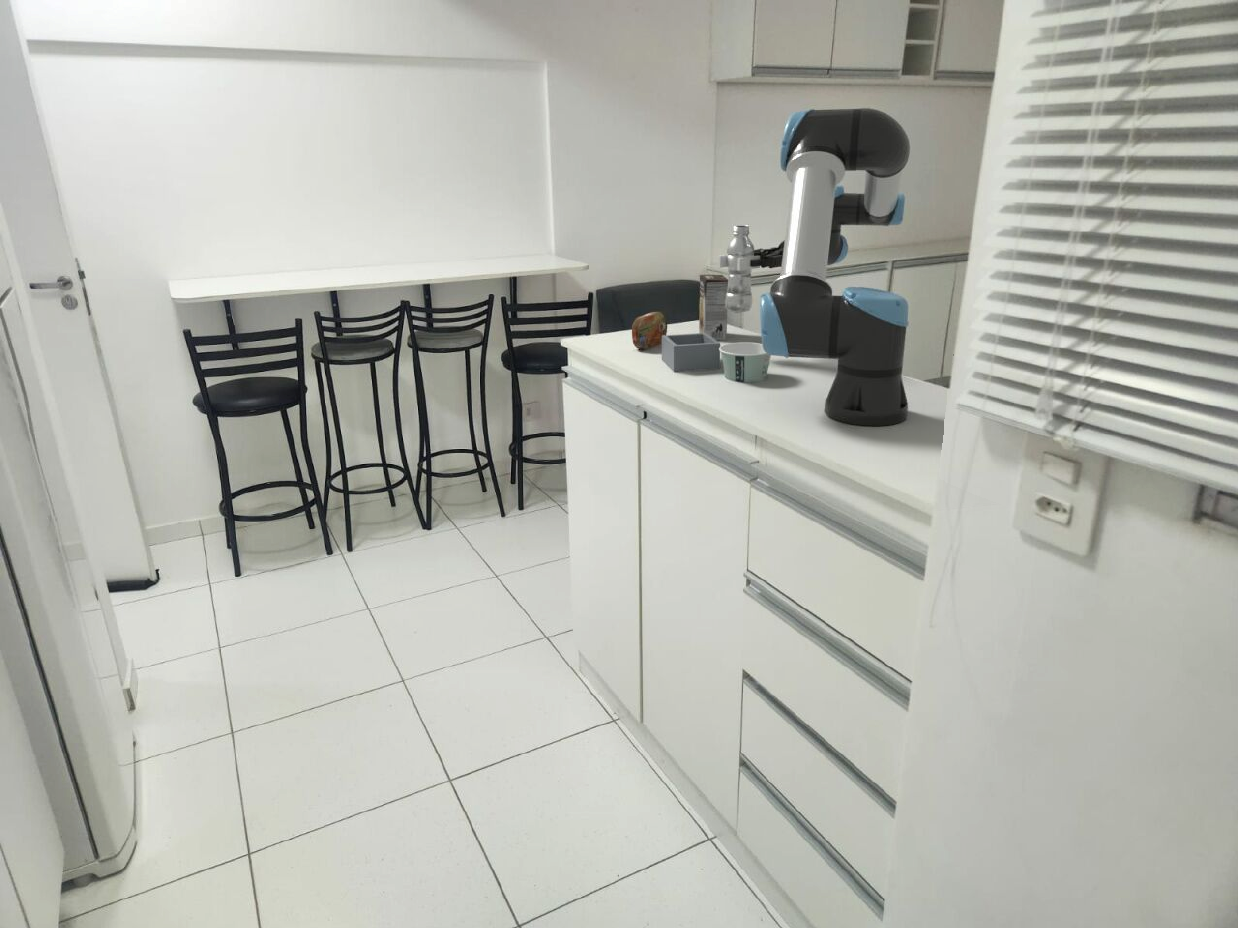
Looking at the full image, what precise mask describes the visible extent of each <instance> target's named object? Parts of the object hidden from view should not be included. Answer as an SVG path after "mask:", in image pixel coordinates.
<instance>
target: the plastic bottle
mask: <svg viewBox="0 0 1238 928" xmlns="http://www.w3.org/2000/svg"><path fill="white" fill-rule="evenodd" d="M732 229H733V230H732V235H733V238H732V239H731V240H730V242H729V244H728V245H727V248H726V255H727V258H728V267H727V269H728V270H727V271H728V278H727V279H728V287H727V293H726V298H725V306H726V309H727V312H732V313H735V314H736V313H737V314H742V313H745V312H749V311H751V308H752V306H753V294H752V280H751V279H752V270H753V269H747V270H740V271H739V270H737V263H738V258H744V257H752V256H754V250H755V246H754V244H753V242H752V241H751V239H750V237H749V235H750V226H749V225H734V226H733V228H732Z"/></svg>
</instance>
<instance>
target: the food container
mask: <svg viewBox="0 0 1238 928" xmlns="http://www.w3.org/2000/svg"><path fill="white" fill-rule="evenodd" d="M719 350H720V356H721V360H722V367H723V373H724V375H723V376H724V378H725V379H726V380H729V381H732V382H738V383H739V382H740V383H753V382H760V381H764V380H766V377H767V373H768V369H769V365H770V359H771V356H772V355H769V354H767V353H766V352H765V351H764V349H763V345H762V343H758V342H747V341H746V342H743V341H742V342H732V343H725V344H722V345H720V348H719Z"/></svg>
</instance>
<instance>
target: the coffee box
mask: <svg viewBox="0 0 1238 928" xmlns="http://www.w3.org/2000/svg"><path fill="white" fill-rule="evenodd" d="M727 287H728V278H726V277H725V276H724V275H723V274H699V317H698V319H699V320H698V321H699V325H698V326H699V328H698V329H699V332H698V333H707V334H708V335H709V336H711V337H712V338H714V339H715V340H716V341H720V340H721V341H722V340H723V341H724V340H726V341H727V336H728V335H727V334H728V333H727V332H728V331H727V329H728V328H727V325H728V310H727V309H726V306H725V298H726V293H727Z"/></svg>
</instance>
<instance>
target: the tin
mask: <svg viewBox="0 0 1238 928" xmlns="http://www.w3.org/2000/svg"><path fill="white" fill-rule="evenodd" d="M667 333H668V321H667V318H666V315H665V313H664V312H662V311H652V312H648V313H646V314H644V315H641V316H637V317H636V318H635V319H634V321H633V323H632V326H631V337H632V338H631V339H632V343H633V345H634V347H635V348H636V349H640V350H649V349H652V348H654V347H655V346H658V345H662V335H668V334H667Z"/></svg>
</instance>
